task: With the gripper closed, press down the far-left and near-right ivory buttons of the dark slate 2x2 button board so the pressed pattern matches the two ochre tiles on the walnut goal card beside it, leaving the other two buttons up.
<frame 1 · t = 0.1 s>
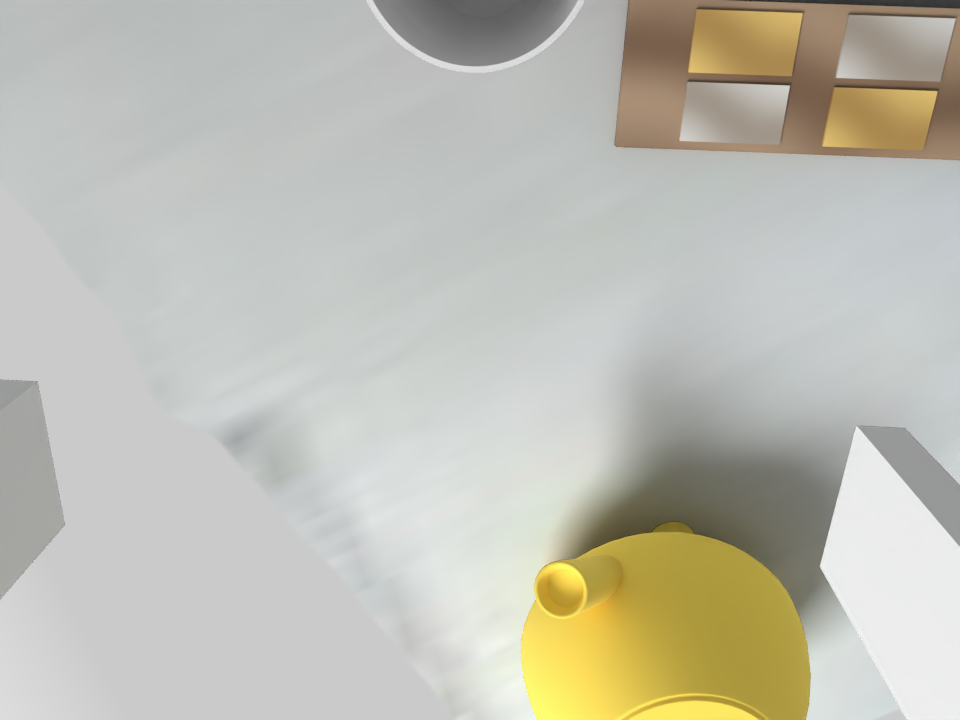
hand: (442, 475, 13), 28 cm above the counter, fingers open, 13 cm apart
teapot: (630, 576, 48), on the counter
goal card: (807, 80, 37), on the counter
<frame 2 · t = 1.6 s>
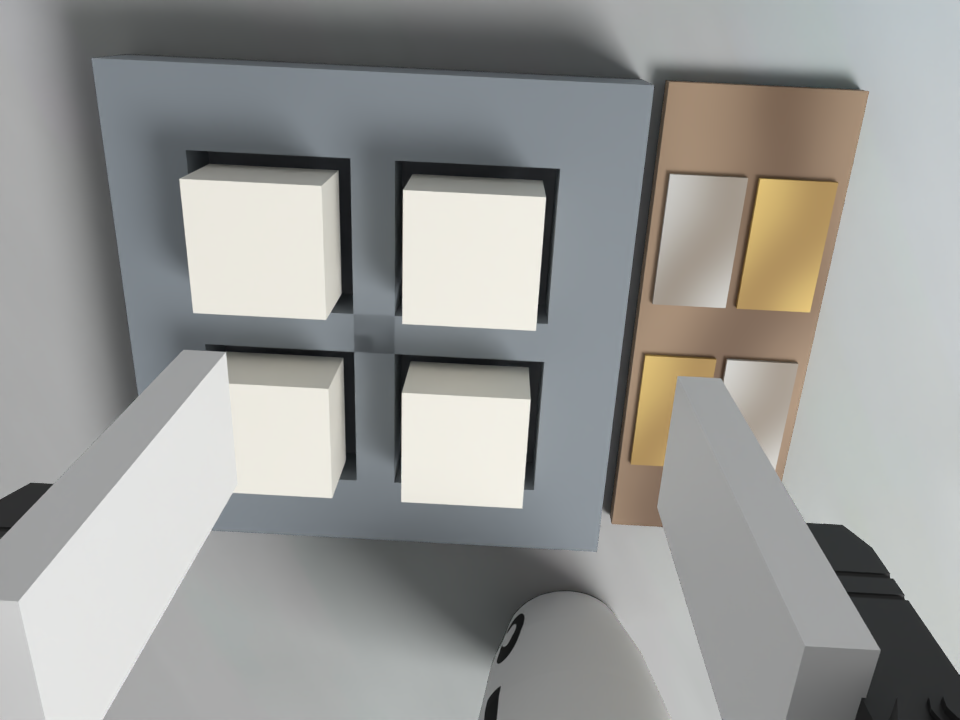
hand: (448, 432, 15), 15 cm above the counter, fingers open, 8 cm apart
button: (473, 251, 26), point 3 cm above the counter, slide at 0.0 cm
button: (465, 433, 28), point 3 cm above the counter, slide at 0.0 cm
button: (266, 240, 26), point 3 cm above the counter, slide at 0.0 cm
goal card: (721, 327, 30), on the counter
button board: (384, 309, 30), on the counter
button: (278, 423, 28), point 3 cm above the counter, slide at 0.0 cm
cup: (564, 633, 36), on the counter
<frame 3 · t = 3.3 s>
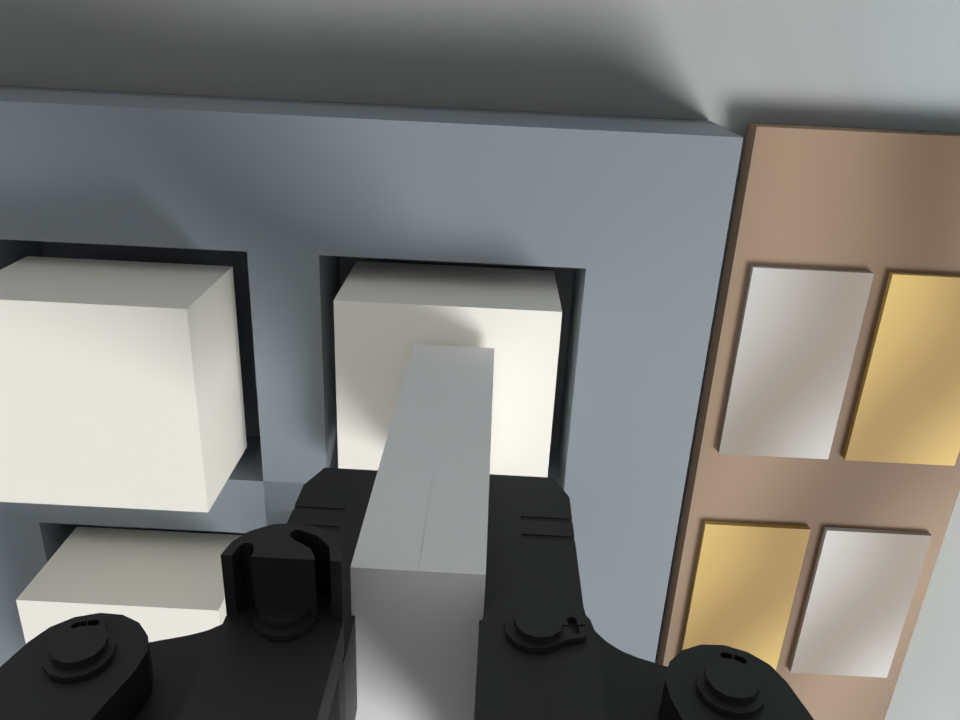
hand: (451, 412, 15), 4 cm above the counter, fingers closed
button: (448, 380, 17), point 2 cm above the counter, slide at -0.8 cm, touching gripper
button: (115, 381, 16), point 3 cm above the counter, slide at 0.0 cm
goal card: (816, 479, 20), on the counter
button board: (319, 453, 20), on the counter
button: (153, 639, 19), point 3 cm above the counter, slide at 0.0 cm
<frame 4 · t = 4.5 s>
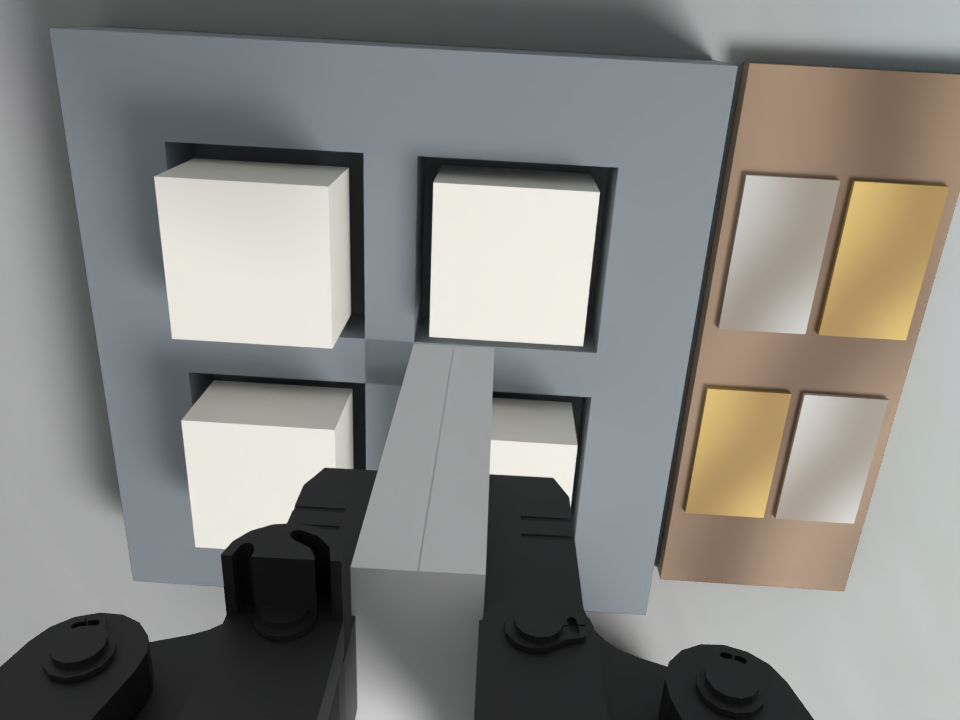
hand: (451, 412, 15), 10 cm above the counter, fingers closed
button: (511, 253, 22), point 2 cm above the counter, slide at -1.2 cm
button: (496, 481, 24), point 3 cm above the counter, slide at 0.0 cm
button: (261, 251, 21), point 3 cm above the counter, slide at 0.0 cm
goal card: (797, 355, 25), on the counter
button board: (400, 331, 25), on the counter
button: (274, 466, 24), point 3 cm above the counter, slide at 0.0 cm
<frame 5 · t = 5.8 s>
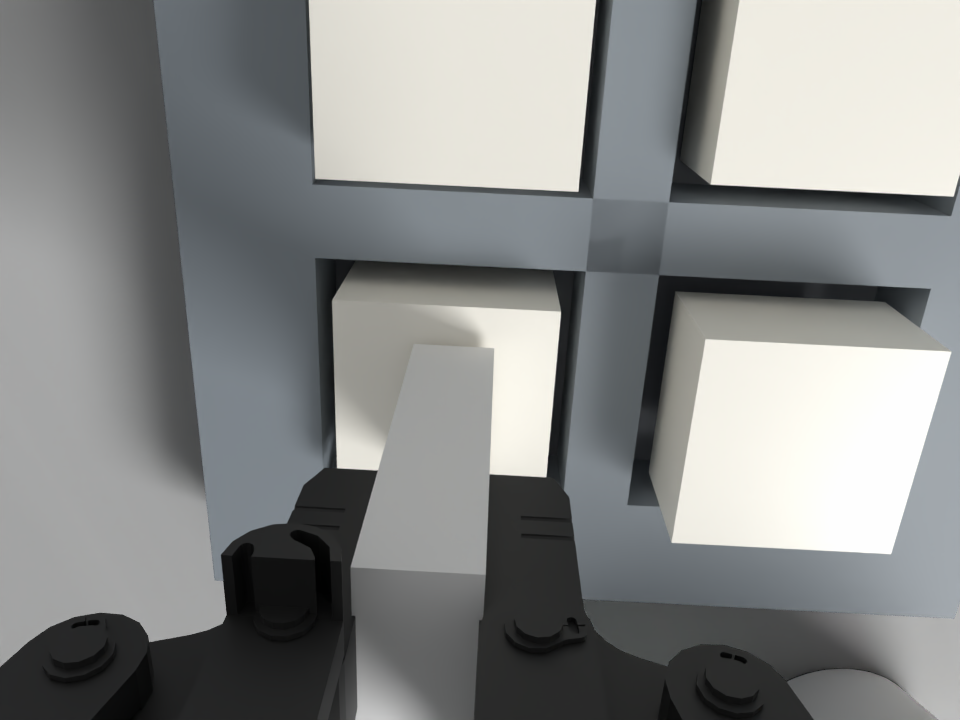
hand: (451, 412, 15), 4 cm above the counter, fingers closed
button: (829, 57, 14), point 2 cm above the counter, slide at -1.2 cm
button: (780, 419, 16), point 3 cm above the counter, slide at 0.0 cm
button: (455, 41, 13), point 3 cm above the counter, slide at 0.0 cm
button board: (610, 208, 17), on the counter
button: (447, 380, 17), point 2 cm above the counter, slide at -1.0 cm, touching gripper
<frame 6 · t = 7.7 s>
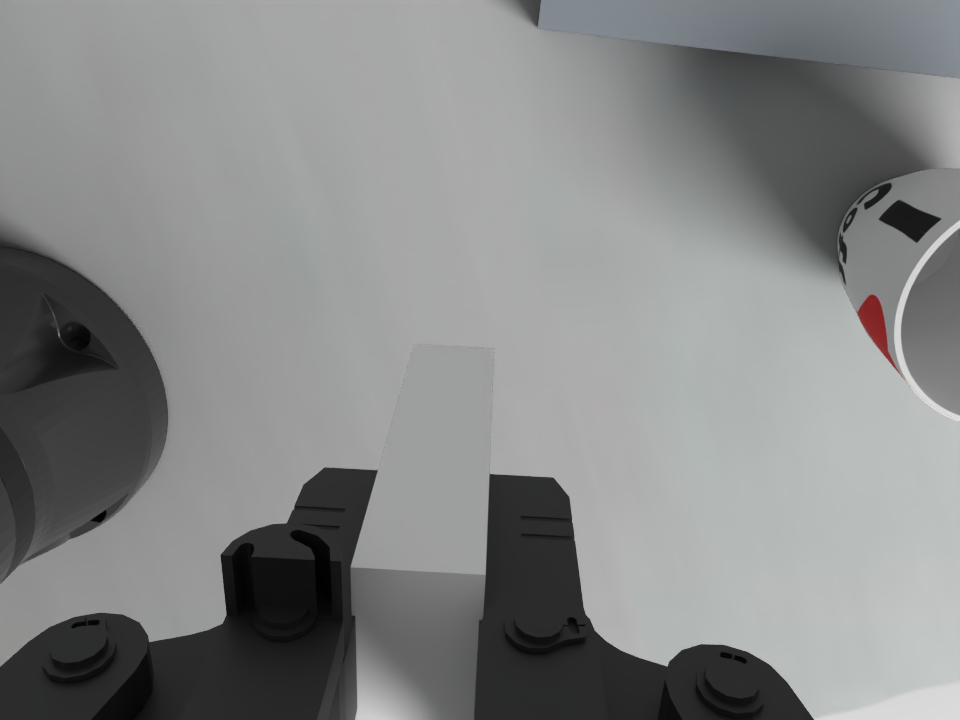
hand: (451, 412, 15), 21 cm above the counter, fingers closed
cup: (897, 234, 35), on the counter
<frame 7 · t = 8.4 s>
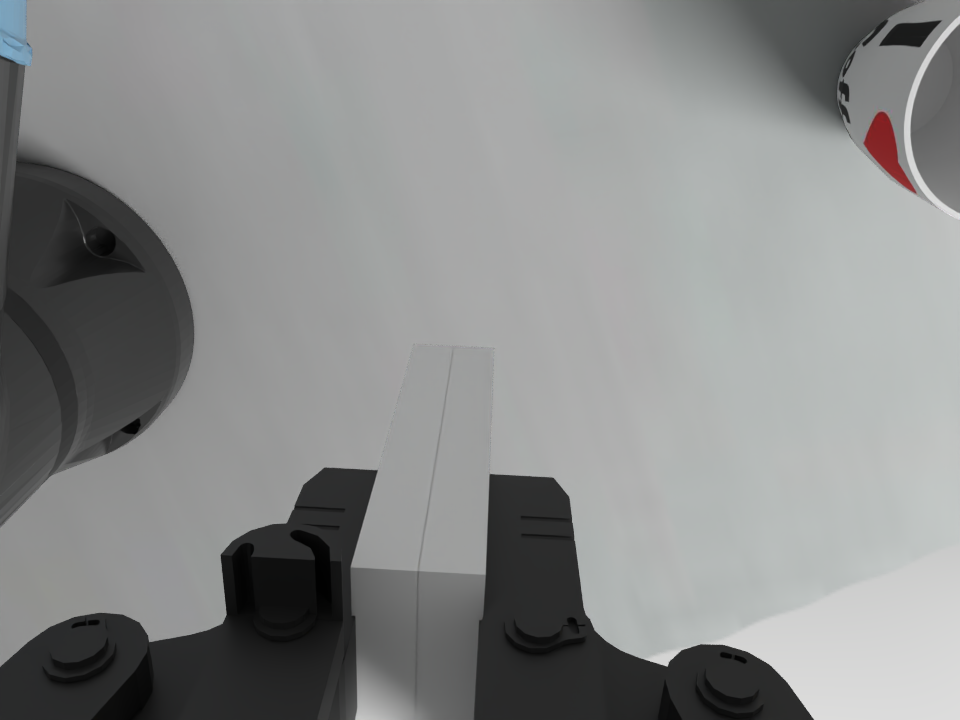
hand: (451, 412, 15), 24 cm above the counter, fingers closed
cup: (894, 82, 36), on the counter
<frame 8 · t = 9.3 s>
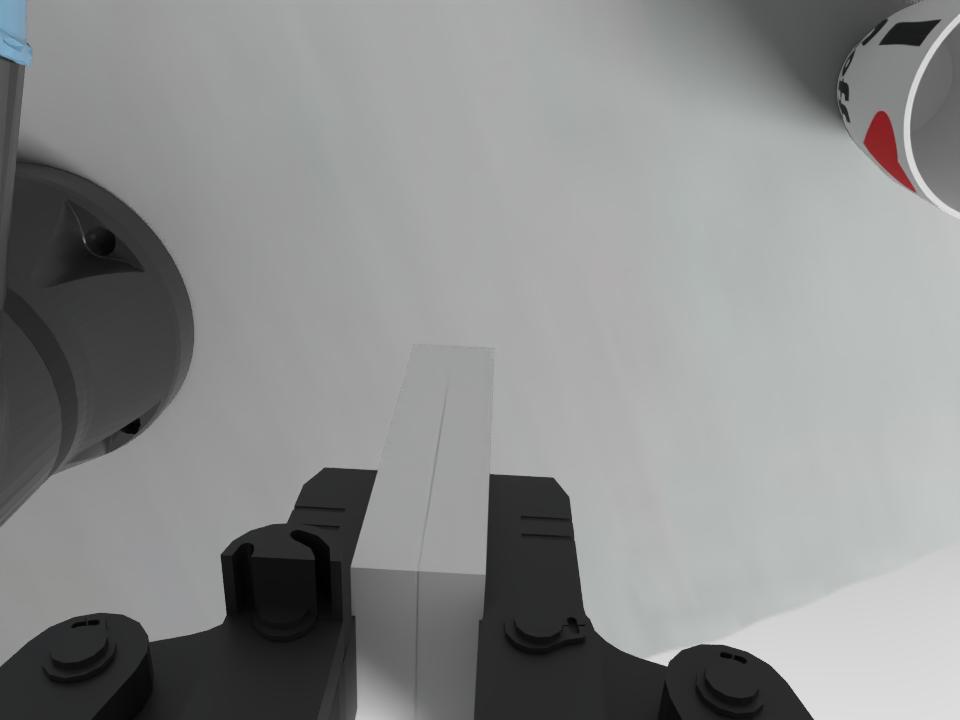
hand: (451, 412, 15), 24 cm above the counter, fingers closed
cup: (894, 81, 36), on the counter
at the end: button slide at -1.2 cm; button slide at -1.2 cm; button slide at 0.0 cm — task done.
